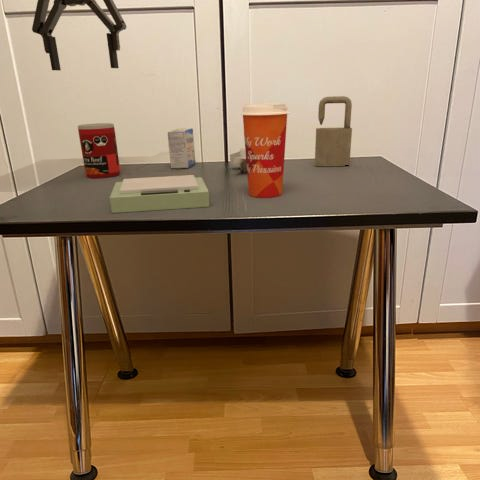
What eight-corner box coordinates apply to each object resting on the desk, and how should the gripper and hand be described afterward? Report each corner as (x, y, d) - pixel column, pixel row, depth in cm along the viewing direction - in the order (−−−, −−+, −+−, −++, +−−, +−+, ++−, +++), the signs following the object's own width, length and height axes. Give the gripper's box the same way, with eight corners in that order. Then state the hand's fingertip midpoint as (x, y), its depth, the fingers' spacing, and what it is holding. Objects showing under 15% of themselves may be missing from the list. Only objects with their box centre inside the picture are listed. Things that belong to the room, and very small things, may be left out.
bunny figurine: (268, 147, 117) (273, 147, 103) (268, 169, 119) (273, 172, 105) (229, 148, 117) (229, 148, 103) (230, 170, 119) (229, 173, 105)
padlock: (314, 164, 118) (317, 96, 111) (348, 163, 116) (353, 95, 110) (314, 166, 114) (317, 97, 107) (349, 166, 113) (354, 96, 106)
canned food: (78, 177, 110) (69, 126, 105) (101, 171, 117) (94, 123, 112) (105, 179, 107) (97, 126, 102) (127, 173, 114) (120, 123, 109)
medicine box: (188, 168, 117) (185, 130, 113) (170, 169, 117) (167, 131, 114) (195, 163, 124) (193, 127, 120) (179, 164, 124) (176, 128, 121)
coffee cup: (236, 197, 86) (233, 105, 79) (252, 188, 92) (250, 103, 86) (281, 200, 83) (281, 105, 76) (294, 190, 90) (296, 102, 83)
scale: (111, 213, 78) (108, 193, 77) (117, 195, 90) (115, 178, 89) (209, 206, 80) (208, 187, 79) (202, 190, 92) (201, 174, 91)
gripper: (132, -49, 99) (144, 67, 108) (19, -42, 102) (41, 71, 111) (120, -59, 92) (134, 66, 101) (-1, -50, 95) (23, 70, 105)
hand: (85, 69), depth 106 cm, fingers open, 13 cm apart
